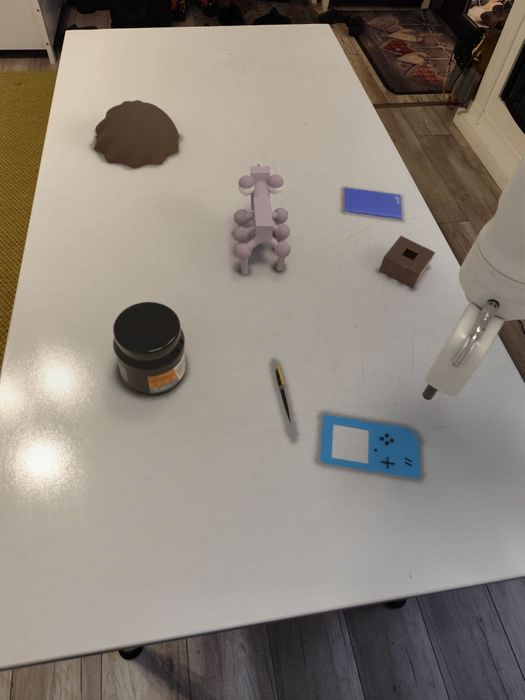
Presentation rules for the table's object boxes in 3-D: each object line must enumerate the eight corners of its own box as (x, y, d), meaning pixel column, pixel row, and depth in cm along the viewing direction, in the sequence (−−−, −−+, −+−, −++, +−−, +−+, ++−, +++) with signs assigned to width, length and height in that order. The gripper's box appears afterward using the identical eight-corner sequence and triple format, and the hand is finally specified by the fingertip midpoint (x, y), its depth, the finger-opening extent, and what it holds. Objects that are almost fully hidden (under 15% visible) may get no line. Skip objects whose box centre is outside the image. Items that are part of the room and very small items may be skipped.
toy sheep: (230, 209, 110) (232, 152, 99) (280, 210, 111) (288, 154, 100) (233, 278, 98) (236, 222, 87) (289, 279, 99) (299, 223, 88)
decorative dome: (156, 115, 128) (153, 74, 120) (195, 158, 119) (194, 116, 111) (81, 134, 121) (71, 92, 113) (116, 181, 112) (109, 139, 104)
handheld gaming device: (421, 478, 76) (319, 461, 76) (418, 481, 77) (318, 465, 77) (419, 428, 81) (323, 413, 81) (416, 431, 82) (322, 416, 82)
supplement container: (197, 384, 84) (196, 339, 74) (135, 410, 80) (125, 366, 70) (170, 337, 89) (166, 289, 79) (111, 359, 85) (98, 312, 75)
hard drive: (400, 193, 115) (345, 186, 115) (402, 217, 110) (344, 210, 110) (398, 199, 116) (343, 192, 116) (400, 223, 111) (343, 215, 111)
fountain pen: (297, 442, 79) (298, 437, 78) (289, 443, 79) (291, 438, 78) (277, 365, 87) (278, 359, 86) (270, 365, 87) (271, 360, 86)
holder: (426, 270, 104) (435, 252, 99) (411, 292, 100) (419, 273, 96) (393, 254, 106) (400, 235, 102) (377, 274, 102) (384, 256, 98)
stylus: (434, 394, 69) (475, 335, 58) (430, 402, 68) (471, 343, 58) (424, 389, 69) (463, 329, 59) (420, 396, 69) (459, 337, 58)
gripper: (507, 360, 44) (445, 434, 55) (568, 234, 55) (506, 318, 66) (439, 323, 46) (393, 403, 57) (511, 209, 56) (460, 294, 68)
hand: (454, 356), depth 61 cm, fingers closed on stylus, 1 cm apart
